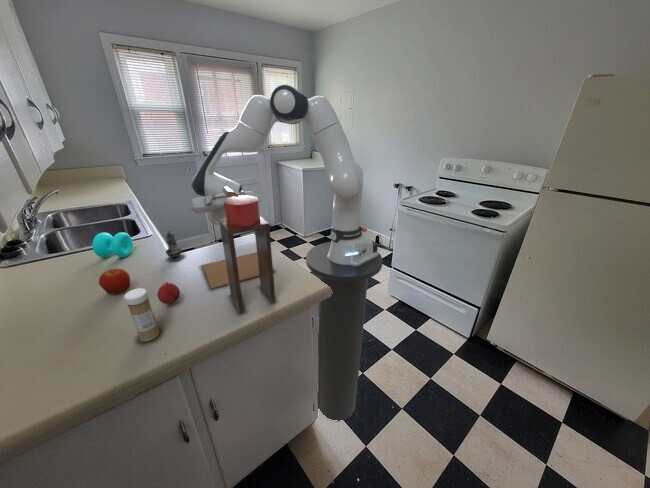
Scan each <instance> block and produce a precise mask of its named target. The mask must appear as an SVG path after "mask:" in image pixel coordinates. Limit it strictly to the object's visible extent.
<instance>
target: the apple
mask: <svg viewBox="0 0 650 488" xmlns="http://www.w3.org/2000/svg"><path fill="white" fill-rule="evenodd" d="M98 285H99V286H100V288H102V290H103V291H104V292H106V293H107V294H110V295H118V294H122V293H124V292H126V291H127V290H128V289H129V288H130V287H131V286H130V285H131V278H130V274H129V272H128V271H126V270H125V269H123V268H112V269H108V270H105V271H104V272H103V273H102V274H101V275H100V276H99V278H98Z"/></svg>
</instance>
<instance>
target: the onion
mask: <svg viewBox="0 0 650 488" xmlns="http://www.w3.org/2000/svg"><path fill="white" fill-rule="evenodd" d="M156 296H157V298H158V300H159V302H160V303H162V304H165V305H170V306H171V305H174V304H175V303H176V302H177V301H178V299H179V298H180V296H181V290H180V288H179V287H178V286H177V285H176V284H175V283H170V282H169V281H165V282H164V283H163V284H162V285H161V286H160V287H159V288H158V291H157V295H156Z"/></svg>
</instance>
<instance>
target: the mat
mask: <svg viewBox="0 0 650 488" xmlns="http://www.w3.org/2000/svg"><path fill="white" fill-rule="evenodd" d="M236 259H237V266H238V273H239V280H240V282H243V281H248V280H250V279H254V278H258V277H260V276H259V266H258V256H257V252H254V253H253V252H252V253H250V254H249V253H248V254H245V255H240V256H236ZM201 266H202V270H203V271H204V273H205V276H206V279H207V281H208V283H209V286H210V288H211V290H214V289H217V288H221V287H224V286H229V280H228V273H227V267H226V261H225V259H223V260H219V261H215V262H209V263H206V264H202V265H201ZM274 272H275V270H273V273H274Z"/></svg>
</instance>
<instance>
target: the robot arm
mask: <svg viewBox="0 0 650 488" xmlns="http://www.w3.org/2000/svg"><path fill="white" fill-rule="evenodd" d="M277 122H278V123H281V124H286V125H297V124H299V123H301V122H303V124H305V125H306V127H307V128H308V130H309V133H310V135H311V137H312V139H313V142H314V144H315V146H316V149H317V151H318V153H319V154H320V157H321V160H322V163H323V165H324V169H325V172H326V175H327V178H328V181H329V184H330V185H331V186H330V187H331V190H332V192H333V193H334V195H333V203H332V216H331V217H332V218H331V219H332V220H331V226H330V240H331V241H330V242H331V245H330V250H329V253H328V259H329V260H330V261H332V262H334V263H337V264H342V265H351V266H359V265H361V264H363V263H365V262H367V261H369V260H371V259H373V258H375V257H377V256H378V253H379V251H378V249H379V247H378V244H377V243H376V242H375V241H372V240H371V239H370V238H368V237H367V236H366V235H365V234H363V233H367V231H368V228H367V227H365V226H361V225H360V222H361V221H360V220H361V206H362V197H363V196H362V195H363V186H364V171H363V169H362V166H360V164H358V163H356V161H355V158H354V155H353V152H352V150H351V146H350V142H349V140H348V138H347V136H346V133H345V131H344V128H343V126H342V124H341V121H340V120H339V116H338V115H337V113H336V112H335V109H334V107H332V105H331V102H330V101H329V100H328V98H326V97H325V96H323V95H314V96H311V97H310V98H308V97H307V96H306V95H305V94H304V93H302V92H301V91H300V90H299V89H298V88H296V87H294V86H293V85H290V84H280V85H278V86H276V87H275V88H274V89H273V90H272V92H271V93H270V97H269V98H268V97H266V96H264V95H261V94H254V95H252V97H250V98H249V99H248V101H247V102H246V105H245V106H244V109H243V110H242V113H241V115H240V116H239V119H238V122H237V123H236V125H235V127H233V128H232V129H231V130H226V131H224V132H223V133H222V134H221V135H220V136H219V138H218V139H217V141H216V143H215V144H214V146H213V147H212V149H211V150H210V152H209V154H208V155H207V157H206V158H205V160H204V162H203V164H202V165H201V167H200V168H199V169H198V170H197V171H196V172H195V174H194V175H193V177H192V178H191V184H190V185H191V188H192V190H193V192H194V193H195V194H196V195H198V197H194V198H192V199H191V203H192V206H191V208H190V211H192V212H194V213H196V214H206V215H207V218H208V220H209V222H210V223H211V224H213V225H215V226H220V223H219V219H224V218H226V217H225V210H224V203H223V201H224V200H225V199H227V198H228V197H227V196H226V195H225V194H224V193H223V188H224V187H229V188H230V189H231V190H232V191H234V192H235V193H236V194H237V195H239V196H254V197H257V196H256V192H255V191H254V190H250V191H246V190H244V188H243V186H242V185H241V183H239V182H236V181H235V180H232V179H230V178H227V177H225V176H222V175H221V174H218V173H216V172H215V171H214V169H215V168H216V167H217V165H218V164H219V162H220V160H221V158H222V157H223V156H224V155H225V154H226V153H230V152H238V153H246V154H247V153H248V154H249V153H257V152H258V151H260V150H261V149H263V147H264V145H265V143H266V142H267V140H268V138H269V135H270V133H271V131H272V129H273V127H274V125H275V124H276V123H277ZM199 196H200V197H199Z"/></svg>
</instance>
